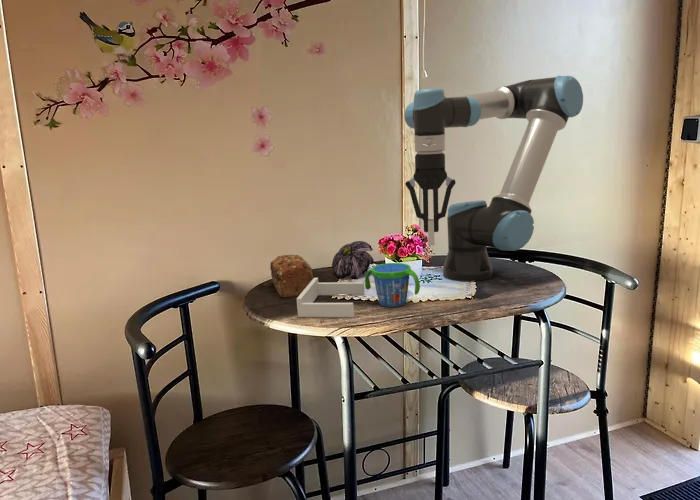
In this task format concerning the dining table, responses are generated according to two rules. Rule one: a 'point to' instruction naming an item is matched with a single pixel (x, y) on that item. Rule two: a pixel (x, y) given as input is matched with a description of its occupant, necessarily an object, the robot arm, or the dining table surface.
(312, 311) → the fence
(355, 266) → the decorative flower
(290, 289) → the bread
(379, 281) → the snack cup
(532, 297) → the dining table surface
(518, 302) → the dining table surface
